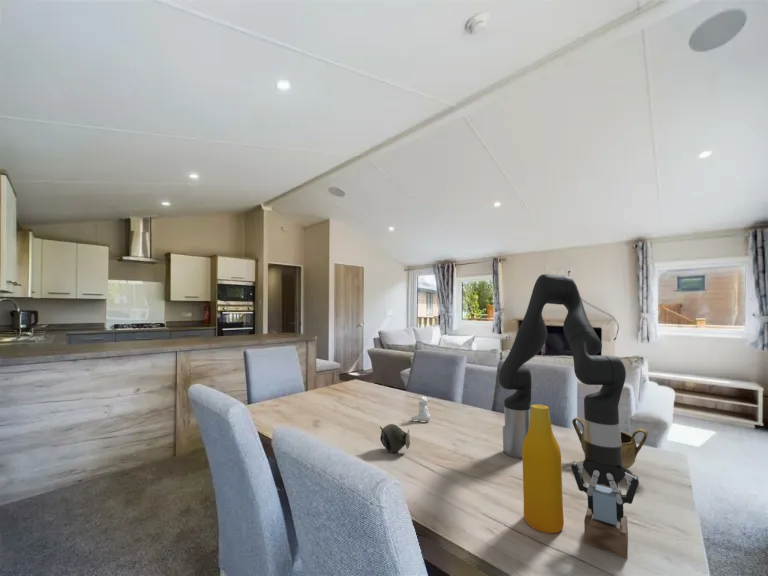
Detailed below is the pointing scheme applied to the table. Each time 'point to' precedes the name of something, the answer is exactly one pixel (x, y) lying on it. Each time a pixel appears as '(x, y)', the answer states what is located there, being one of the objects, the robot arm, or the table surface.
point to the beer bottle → (542, 474)
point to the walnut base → (606, 534)
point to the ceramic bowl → (626, 443)
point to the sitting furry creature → (422, 410)
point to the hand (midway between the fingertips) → (605, 514)
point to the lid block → (604, 505)
